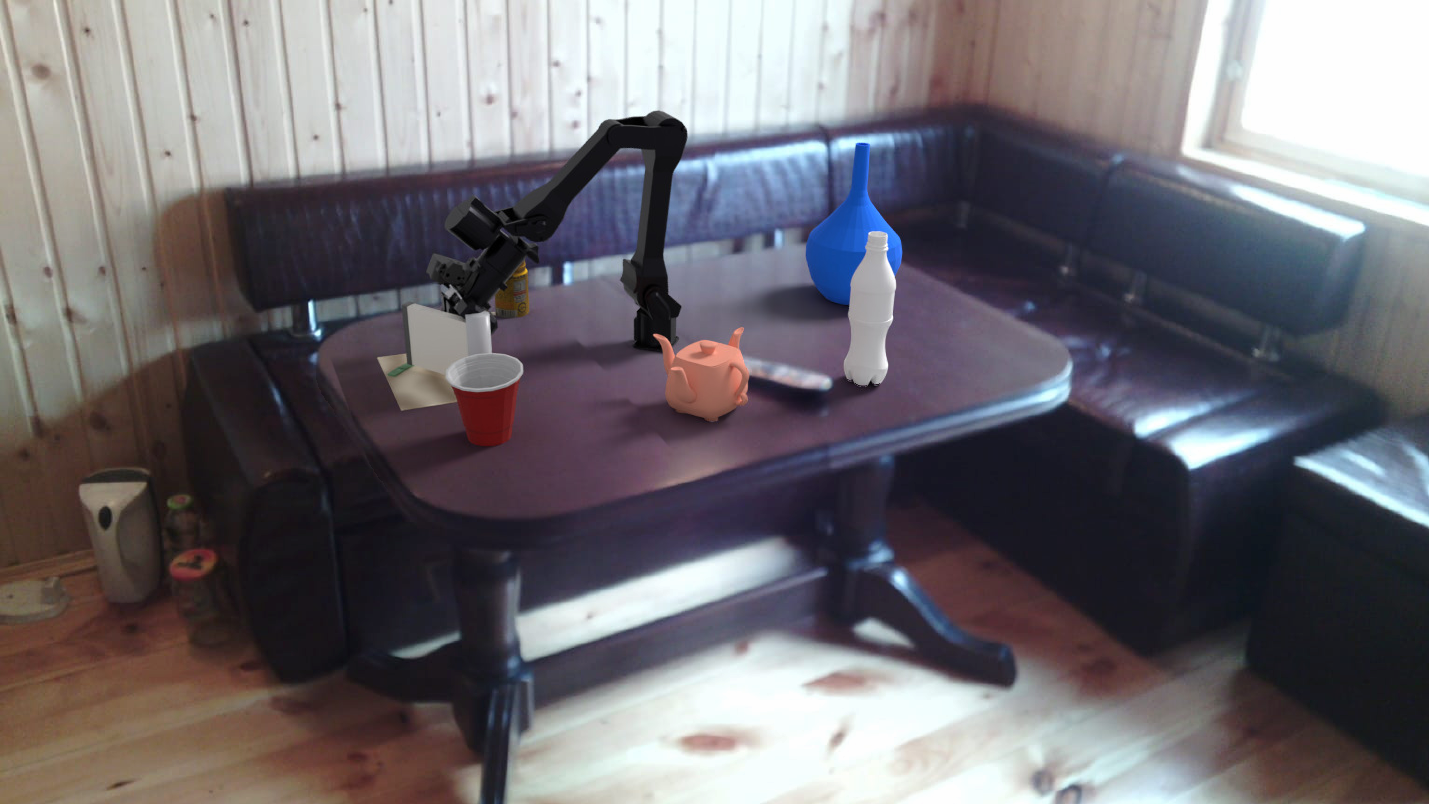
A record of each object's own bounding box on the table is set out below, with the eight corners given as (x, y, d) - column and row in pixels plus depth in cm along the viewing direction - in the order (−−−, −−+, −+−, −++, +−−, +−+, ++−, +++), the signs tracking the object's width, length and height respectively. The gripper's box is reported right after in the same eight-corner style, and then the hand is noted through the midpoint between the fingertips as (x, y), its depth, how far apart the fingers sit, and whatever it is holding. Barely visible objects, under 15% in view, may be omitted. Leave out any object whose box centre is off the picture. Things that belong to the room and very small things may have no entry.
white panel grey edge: (498, 385, 181) (494, 313, 176) (483, 393, 178) (478, 320, 173) (419, 360, 189) (413, 291, 183) (403, 368, 186) (396, 297, 181)
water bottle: (890, 375, 193) (905, 230, 182) (881, 392, 187) (896, 243, 176) (848, 368, 195) (860, 224, 184) (837, 385, 189) (850, 237, 178)
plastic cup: (435, 452, 165) (428, 374, 159) (478, 421, 174) (474, 347, 168) (500, 468, 161) (495, 390, 156) (541, 436, 170) (538, 361, 165)
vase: (806, 277, 235) (815, 130, 222) (897, 284, 233) (912, 136, 220) (799, 310, 219) (809, 152, 206) (897, 317, 217) (913, 159, 204)
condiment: (527, 309, 215) (525, 247, 210) (537, 326, 208) (535, 262, 203) (488, 313, 213) (484, 251, 208) (497, 330, 206) (493, 266, 200)
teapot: (670, 433, 172) (671, 365, 167) (652, 392, 184) (652, 328, 180) (764, 425, 175) (767, 358, 170) (740, 385, 188) (743, 322, 183)
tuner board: (474, 350, 197) (473, 342, 196) (506, 401, 180) (506, 392, 179) (377, 364, 191) (376, 355, 190) (401, 417, 174) (401, 408, 173)
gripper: (441, 220, 187) (380, 294, 188) (470, 254, 172) (403, 335, 172) (493, 260, 193) (434, 331, 194) (525, 297, 178) (460, 374, 179)
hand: (431, 342), depth 185 cm, fingers closed
